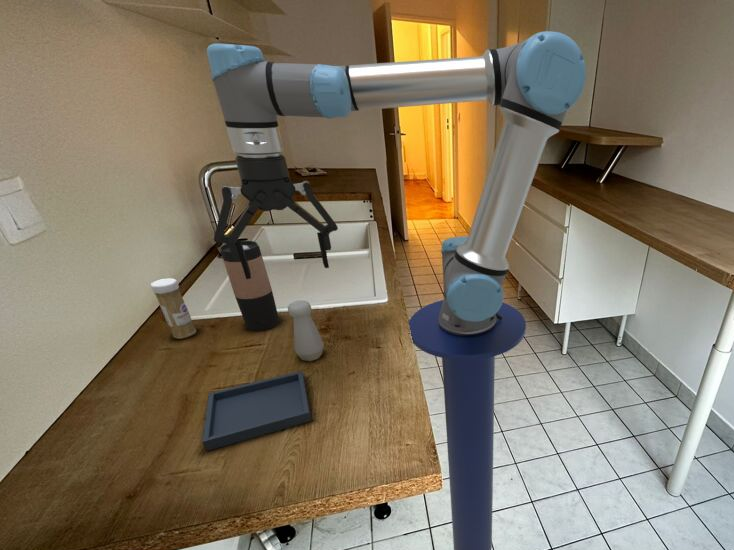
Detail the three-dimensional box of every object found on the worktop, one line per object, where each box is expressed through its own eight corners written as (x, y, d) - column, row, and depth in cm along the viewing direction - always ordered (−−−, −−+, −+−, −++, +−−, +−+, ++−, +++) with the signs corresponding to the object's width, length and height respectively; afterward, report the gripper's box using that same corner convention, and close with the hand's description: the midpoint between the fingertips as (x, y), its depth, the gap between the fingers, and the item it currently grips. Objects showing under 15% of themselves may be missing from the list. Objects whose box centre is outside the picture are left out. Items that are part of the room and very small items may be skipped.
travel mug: (238, 330, 99) (210, 250, 89) (258, 315, 105) (235, 239, 95) (268, 332, 98) (243, 252, 88) (287, 317, 104) (266, 241, 95)
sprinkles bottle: (194, 337, 95) (172, 284, 88) (170, 340, 94) (146, 287, 87) (199, 328, 99) (178, 276, 92) (176, 331, 97) (153, 278, 90)
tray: (304, 379, 83) (302, 370, 82) (311, 421, 73) (309, 412, 72) (212, 401, 76) (208, 392, 75) (206, 451, 66) (202, 441, 65)
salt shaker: (300, 349, 92) (286, 297, 86) (327, 347, 93) (316, 296, 87) (294, 364, 87) (279, 310, 81) (323, 362, 88) (310, 308, 82)
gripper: (165, 160, 61) (211, 289, 72) (341, 155, 72) (358, 268, 83) (172, 153, 67) (214, 273, 78) (334, 149, 78) (351, 255, 88)
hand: (288, 271), depth 80 cm, fingers open, 13 cm apart
